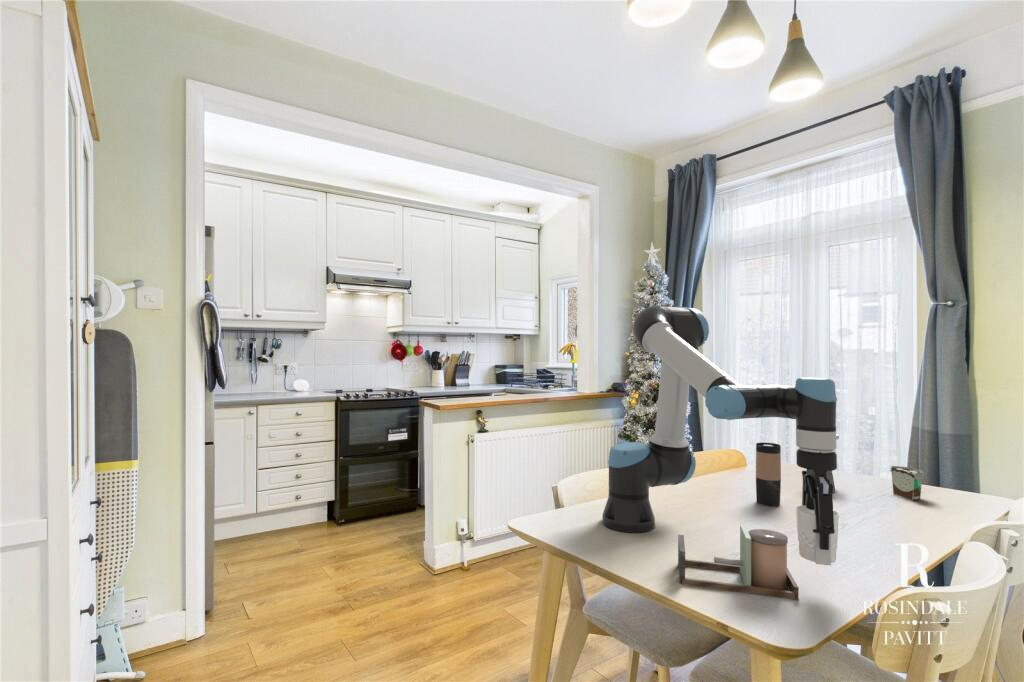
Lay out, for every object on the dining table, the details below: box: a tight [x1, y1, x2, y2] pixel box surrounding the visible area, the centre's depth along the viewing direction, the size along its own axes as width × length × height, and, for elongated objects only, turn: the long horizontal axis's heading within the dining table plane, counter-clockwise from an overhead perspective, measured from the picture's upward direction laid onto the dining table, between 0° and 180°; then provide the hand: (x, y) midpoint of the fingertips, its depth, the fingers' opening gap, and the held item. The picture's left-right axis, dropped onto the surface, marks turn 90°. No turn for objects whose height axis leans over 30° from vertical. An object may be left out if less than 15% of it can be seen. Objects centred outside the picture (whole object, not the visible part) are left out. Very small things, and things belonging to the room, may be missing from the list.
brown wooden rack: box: [677, 534, 800, 601], centre depth 115 cm, size 23×12×7 cm, turn 73°
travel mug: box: [755, 442, 782, 507], centre depth 175 cm, size 8×8×20 cm
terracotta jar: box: [748, 528, 789, 591], centre depth 113 cm, size 8×8×11 cm
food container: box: [889, 465, 925, 502], centre depth 184 cm, size 12×6×10 cm, turn 179°
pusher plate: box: [713, 524, 752, 586], centre depth 115 cm, size 7×9×11 cm
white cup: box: [795, 505, 840, 564], centre depth 111 cm, size 8×8×10 cm
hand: (817, 556), depth 110 cm, fingers closed on white cup, 7 cm apart
